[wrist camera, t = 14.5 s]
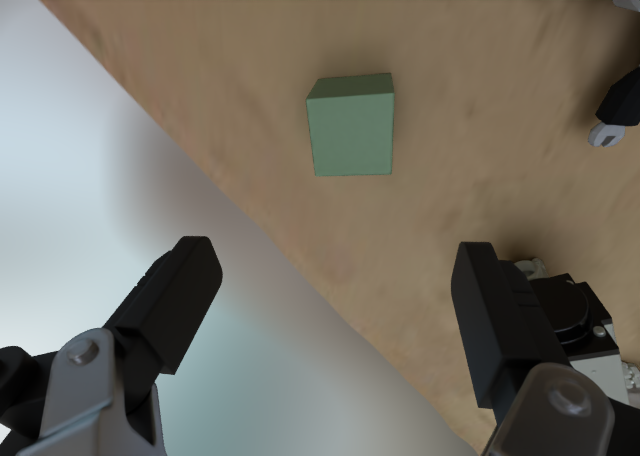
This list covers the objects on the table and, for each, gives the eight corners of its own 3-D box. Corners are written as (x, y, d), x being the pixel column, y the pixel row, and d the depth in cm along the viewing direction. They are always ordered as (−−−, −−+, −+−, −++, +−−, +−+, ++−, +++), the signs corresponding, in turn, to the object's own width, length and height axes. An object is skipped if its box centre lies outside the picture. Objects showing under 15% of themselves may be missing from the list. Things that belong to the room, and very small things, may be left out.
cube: (317, 78, 22) (305, 99, 18) (391, 72, 21) (394, 92, 17) (324, 146, 25) (315, 176, 21) (388, 144, 24) (391, 174, 20)
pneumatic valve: (512, 315, 33) (566, 444, 24) (479, 240, 28) (531, 367, 19) (573, 302, 31) (659, 439, 22) (549, 217, 26) (650, 350, 16)
